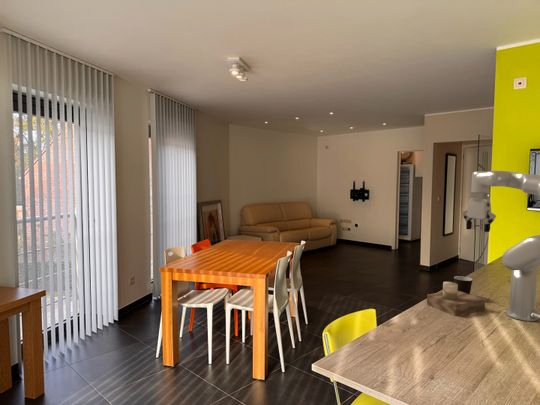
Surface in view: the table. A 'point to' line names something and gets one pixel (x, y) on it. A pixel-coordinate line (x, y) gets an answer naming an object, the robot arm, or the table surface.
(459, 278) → the coffee mug
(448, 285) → the peg
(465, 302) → the board
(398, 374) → the table surface
